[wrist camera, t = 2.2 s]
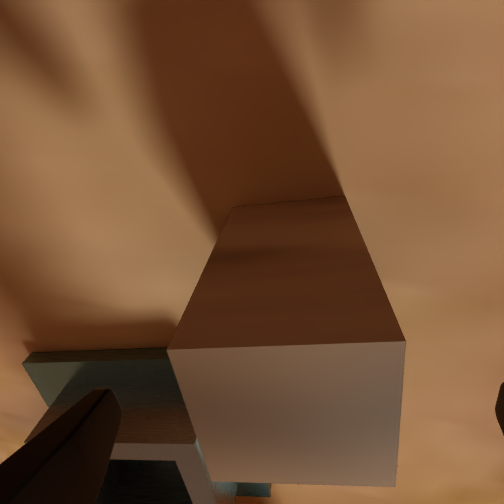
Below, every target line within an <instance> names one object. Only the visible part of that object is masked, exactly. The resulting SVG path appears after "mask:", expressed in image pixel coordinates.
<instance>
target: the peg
mask: <svg viewBox="0 0 504 504" xmlns="http://www.w3.org/2000/svg"><path fill="white" fill-rule="evenodd" d="M405 347H406V340H405V338H404V336H403V333H402V331H401V328H400V326H399V324H398V321H397V319H396V316H395V314H394V312H393V309H392V307H391V304H390V302H389V300H388V297H387V295H386V293H385V290H384V288H383V285H382V283H381V281H380V278H379V276H378V273H377V271H376V269H375V266H374V264H373V262H372V259H371V257H370V254H369V252H368V250H367V247H366V245H365V242H364V240H363V238H362V235H361V233H360V231H359V228H358V226H357V223H356V221H355V219H354V216H353V214H352V211H351V209H350V207H349V204H348V202H347V199H346V197H345V196H336V197H327V198H317V199H308V200H299V201H289V202H280V203H270V204H261V205H251V206H242V207H233V208H232V210H231V212H230V214H229V216H228V218H227V221H226V223H225V225H224V227H223V229H222V231H221V233H220V236H219V238H218V240H217V242H216V244H215V246H214V249H213V251H212V253H211V255H210V257H209V259H208V261H207V264H206V266H205V268H204V270H203V272H202V274H201V277H200V279H199V281H198V283H197V285H196V287H195V289H194V292H193V294H192V296H191V298H190V300H189V302H188V305H187V307H186V309H185V311H184V313H183V315H182V318H181V320H180V322H179V324H178V326H177V328H176V330H175V333H174V335H173V337H172V339H171V341H170V343H169V346H168V348H167V353H168V356H169V359H170V361H171V364H172V367H173V370H174V373H175V376H176V379H177V382H178V385H179V387H180V390H181V393H182V396H183V399H184V402H185V405H186V408H187V411H188V413H189V416H190V419H191V422H192V425H193V428H194V431H195V434H196V437H197V440H198V442H199V445H200V448H201V451H202V454H203V457H204V460H205V463H206V466H207V468H208V471H209V474H210V477H211V480H212V481H217V482H249V483H280V484H311V485H343V486H374V487H396V474H397V460H398V445H399V431H400V417H401V403H402V389H403V375H404V361H405Z"/></svg>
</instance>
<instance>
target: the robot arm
mask: <svg viewBox="0 0 504 504" xmlns="http://www.w3.org/2000/svg"><path fill="white" fill-rule="evenodd" d="M495 413H496V417H497V420H498V423H499V425H500V427H501V430H502V432H503V435H504V382H503V383H502V384H501V386H500V390H499V394H498V398H497V402H496V406H495ZM121 420H122V408H121V406H120V404H119V402H118V399H117V397H116V395H115V393H114V391H113V390H112V389H111V388H95V389H93V390H92V391H91V392H89V393H88V394H87V395H86V396H84V397H83V398H82V399H81V400H79V401H78V402H77V403H76V404H74V405H73V406H72V407H71V408H69V409H68V410H67V411H66V412H64V413H63V414H62V415H61V416H60V417H58V418H57V419H56V420H55V421H53V422H52V423H51V424H50V425H48V426H47V427H46V428H45V429H43V430H42V431H41V432H40V433H38V434H37V435H36V436H35V437H33V438H32V439H31V440H30V441H28V442H27V443H26V444H25V445H24V446H22V447H21V448H20V449H19V450H17V451H16V452H15V453H14V454H12V455H11V456H10V457H9V458H7V459H6V460H5V461H4V462H2V463H1V464H0V504H95V502H96V499H97V497H98V494H99V491H100V489H101V486H102V483H103V480H104V477H105V474H106V471H107V467H108V464H109V461H110V457H111V454H112V450H113V447H114V444H115V440H116V437H117V433H118V430H119V427H120V423H121Z"/></svg>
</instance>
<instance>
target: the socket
mask: <svg viewBox="0 0 504 504" xmlns="http://www.w3.org/2000/svg"><path fill="white" fill-rule="evenodd" d="M22 365H23V366H24V368H25V370H26V371H27V373H28V375H29V376H30V378H31V379H32V381H33V383H34V384H35V386H36V388H37V389H38V391H39V392H40V394H41V396H42V397H43V399H44V401H45V402H46V404H47V406H48V407H49V409H48V410H47V411H46V413H45V414H44V416H43V417H42V418H41V420H40V421H39V422H38V424H37V425H36V426H35V428H34V429H33V430H32V432H31V433H30V435H29V436H28V437H27V439H26V440H25V441H24V443H25V444H26V443H27V442H28V441H30V440H31V439H32V438H33V437H35V436H36V435H37V434H38V433H40V432H41V431H42V430H43V429H45V428H46V427H47V426H48V425H50V424H51V423H52V422H53V421H55V420H56V419H57V418H58V417H60V416H61V415H62V414H63V413H64V412H66V411H67V410H68V409H69V408H71V407H72V406H73V405H74V404H76V403H77V402H78V401H79V400H81V399H82V398H83V397H84V396H86V395H87V394H88V393H89V392H91V391H92V390H93V389H95V388H111V389H112V390H113V391H114V393H115V395H116V397H117V399H118V402H119V404H120V406H121V408H122V420H121V423H120V427H119V430H118V433H117V437H116V440H115V444H114V447H113V450H112V454H111V457H110V461H109V464H108V467H107V471H106V474H105V477H104V480H103V483H102V486H101V489H100V491H99V494H98V497H97V499H96V502H95V504H235V500H236V496H255V497H271V483H249V482H217V481H212V480H211V477H210V474H209V471H208V468H207V466H206V463H205V460H204V457H203V454H202V451H201V448H200V445H199V442H198V440H197V437H196V434H195V431H194V428H193V425H192V422H191V419H190V416H189V413H188V411H187V408H186V405H185V402H184V399H183V396H182V393H181V390H180V387H179V385H178V382H177V379H176V376H175V373H174V370H173V367H172V364H171V361H170V359H169V356H168V353H167V348H148V349H120V350H93V351H66V352H39V353H31V354H30V355H29V356H28V357H27V358H26V360H25V361H24V362H23V363H22Z"/></svg>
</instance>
